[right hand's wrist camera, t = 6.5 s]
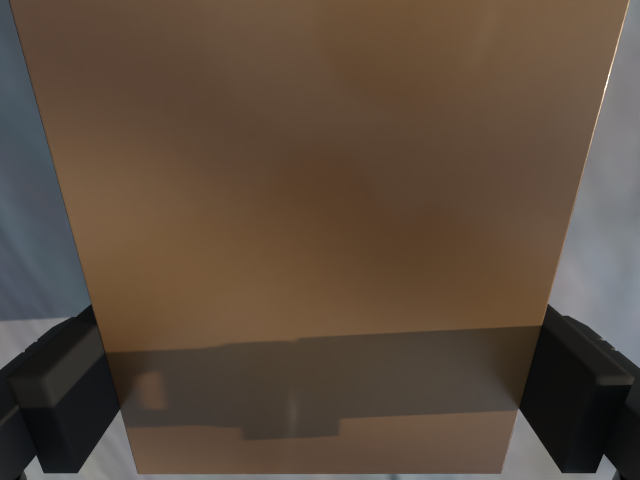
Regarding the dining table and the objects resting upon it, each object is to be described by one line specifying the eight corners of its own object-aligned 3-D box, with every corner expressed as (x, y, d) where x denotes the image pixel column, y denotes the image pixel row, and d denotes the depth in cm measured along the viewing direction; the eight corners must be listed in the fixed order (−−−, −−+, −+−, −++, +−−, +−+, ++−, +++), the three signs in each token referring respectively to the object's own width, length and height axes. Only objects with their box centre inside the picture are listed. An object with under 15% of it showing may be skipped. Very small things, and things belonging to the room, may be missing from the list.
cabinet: (168, -191, 12) (-300, -1119, 3) (470, -191, 12) (936, -1116, 3) (224, 300, 20) (137, 475, 10) (415, 300, 20) (502, 474, 10)
